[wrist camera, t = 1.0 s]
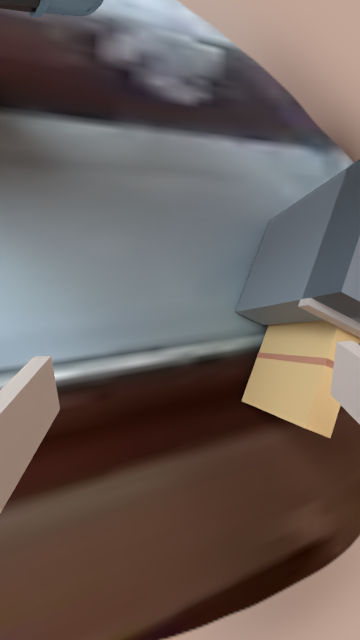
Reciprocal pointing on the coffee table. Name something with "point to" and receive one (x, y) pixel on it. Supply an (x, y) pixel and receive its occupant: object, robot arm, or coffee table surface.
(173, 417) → the coffee table surface
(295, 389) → the taped cardboard box
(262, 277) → the dispenser
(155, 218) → the coffee table surface
